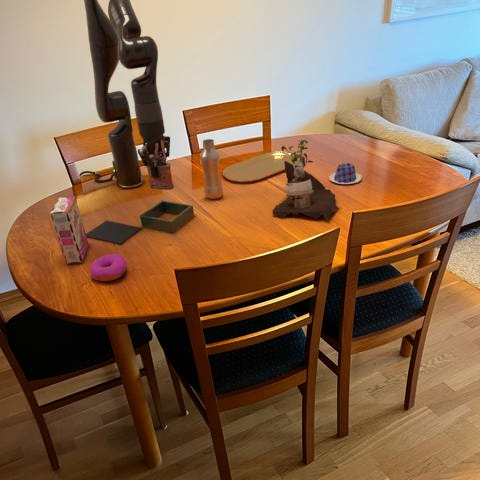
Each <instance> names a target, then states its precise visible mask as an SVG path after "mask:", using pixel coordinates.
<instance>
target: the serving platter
mask: <svg viewBox="0 0 480 480" xmlns="http://www.w3.org/2000/svg"><path fill="white" fill-rule="evenodd" d="M287 153H288V151H272V152H271V151H270V152H266V153H263V154H260V155H257V156H254V157H251V158H249V159H246V160H242V161H240V162H237V163H234V164H231V165H229V166H227V167H225V168H224V169H223V171H222V175H223V177H224V178H225V179H226V180H228V181H230V182H233V183H238V184H239V183H240V184H247V183H255V182H258V181H262V180H264V179H266V178H269V177H272V176H274V175H277V174H280V173H282V172H286V171H285V164H284V161H287V162H289V163H290V164H293V162H292V161H291V158H292V157H291V153H288V154H287ZM293 157H294V155H293ZM299 161H300V158H297V161H295V164H298V162H299ZM293 165H294V164H293Z"/></svg>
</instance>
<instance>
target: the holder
mask: <svg viewBox="0 0 480 480" xmlns="http://www.w3.org/2000/svg"><path fill="white" fill-rule="evenodd" d="M164 213H167V214H171V215H172V214H173V215H176V216H175V217H173V218H172V219H171V220H170V219H165V218H159V217H160V216H161V215H163V214H164ZM194 217H195V210H194V205H193V204H192V205H191V204H186V203H180V202H176V201H169V200H164V199H163V200H162V199H161V200H160V201H159V202H157V203H156V204H155V205H153V206H152V207H150V208H149V209H147V210H146V211H144V212H143V213H141V214H140V215H139V219H140V223H141V228H145V229H151V230H155V231H160V232H164V233H165V232H166V233H170V234H175V233H176V232H177V231H178V230H179V229H181V228H182V227H184V226H185V225H186V224H187V223H188V222H190V221H191V220H192V219H193V218H194Z"/></svg>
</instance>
